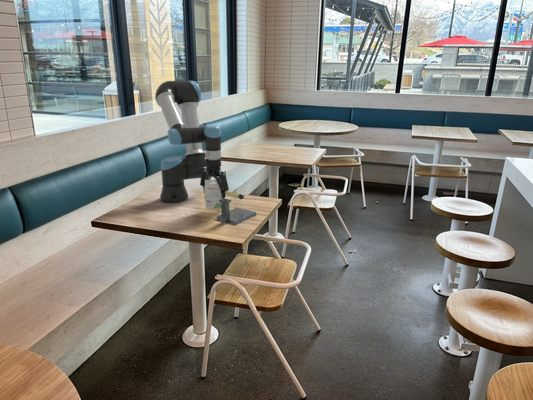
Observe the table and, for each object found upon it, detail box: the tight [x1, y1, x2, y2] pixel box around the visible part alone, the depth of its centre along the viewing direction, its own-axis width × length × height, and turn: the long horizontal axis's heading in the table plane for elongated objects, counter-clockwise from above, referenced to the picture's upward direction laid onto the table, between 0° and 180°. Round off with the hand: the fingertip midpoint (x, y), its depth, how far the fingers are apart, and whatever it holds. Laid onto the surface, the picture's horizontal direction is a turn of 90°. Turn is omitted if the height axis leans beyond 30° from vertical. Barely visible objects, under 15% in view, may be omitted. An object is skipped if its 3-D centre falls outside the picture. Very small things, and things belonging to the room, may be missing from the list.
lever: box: [225, 190, 245, 200], centre depth 209 cm, size 17×4×3 cm, turn 55°
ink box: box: [204, 179, 221, 209], centre depth 201 cm, size 9×5×15 cm, turn 84°
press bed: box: [216, 197, 257, 225], centre depth 195 cm, size 12×18×11 cm
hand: (214, 201), depth 202 cm, fingers closed on ink box, 10 cm apart
